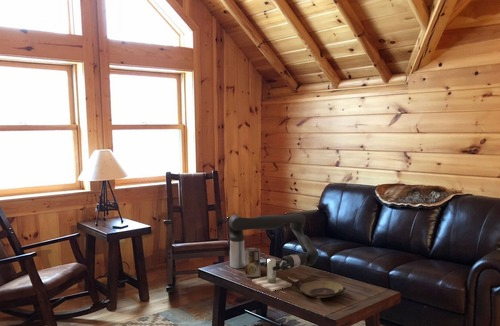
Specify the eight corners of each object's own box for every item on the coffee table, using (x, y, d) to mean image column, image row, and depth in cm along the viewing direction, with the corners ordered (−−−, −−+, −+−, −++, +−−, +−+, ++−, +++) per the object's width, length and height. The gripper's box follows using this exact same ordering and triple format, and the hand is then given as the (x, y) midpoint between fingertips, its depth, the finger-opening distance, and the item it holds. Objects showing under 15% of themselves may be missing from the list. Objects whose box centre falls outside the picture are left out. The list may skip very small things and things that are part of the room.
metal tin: (265, 281, 247) (265, 259, 246) (272, 279, 250) (272, 257, 249) (270, 283, 243) (270, 261, 242) (277, 282, 246) (277, 259, 245)
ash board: (251, 281, 250) (251, 279, 250) (271, 277, 258) (270, 275, 258) (272, 291, 235) (272, 289, 235) (291, 285, 243) (291, 283, 243)
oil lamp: (329, 308, 212) (329, 293, 211) (282, 293, 233) (282, 279, 232) (353, 295, 228) (353, 281, 227) (307, 282, 249) (307, 269, 248)
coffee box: (260, 273, 265) (260, 247, 264) (260, 277, 259) (259, 250, 258) (246, 273, 266) (245, 247, 265) (244, 276, 260) (244, 250, 259)
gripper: (282, 252, 260) (261, 257, 250) (298, 258, 248) (276, 263, 239) (283, 265, 260) (261, 270, 251) (298, 271, 249) (276, 276, 239)
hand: (268, 267), depth 245 cm, fingers open, 8 cm apart
